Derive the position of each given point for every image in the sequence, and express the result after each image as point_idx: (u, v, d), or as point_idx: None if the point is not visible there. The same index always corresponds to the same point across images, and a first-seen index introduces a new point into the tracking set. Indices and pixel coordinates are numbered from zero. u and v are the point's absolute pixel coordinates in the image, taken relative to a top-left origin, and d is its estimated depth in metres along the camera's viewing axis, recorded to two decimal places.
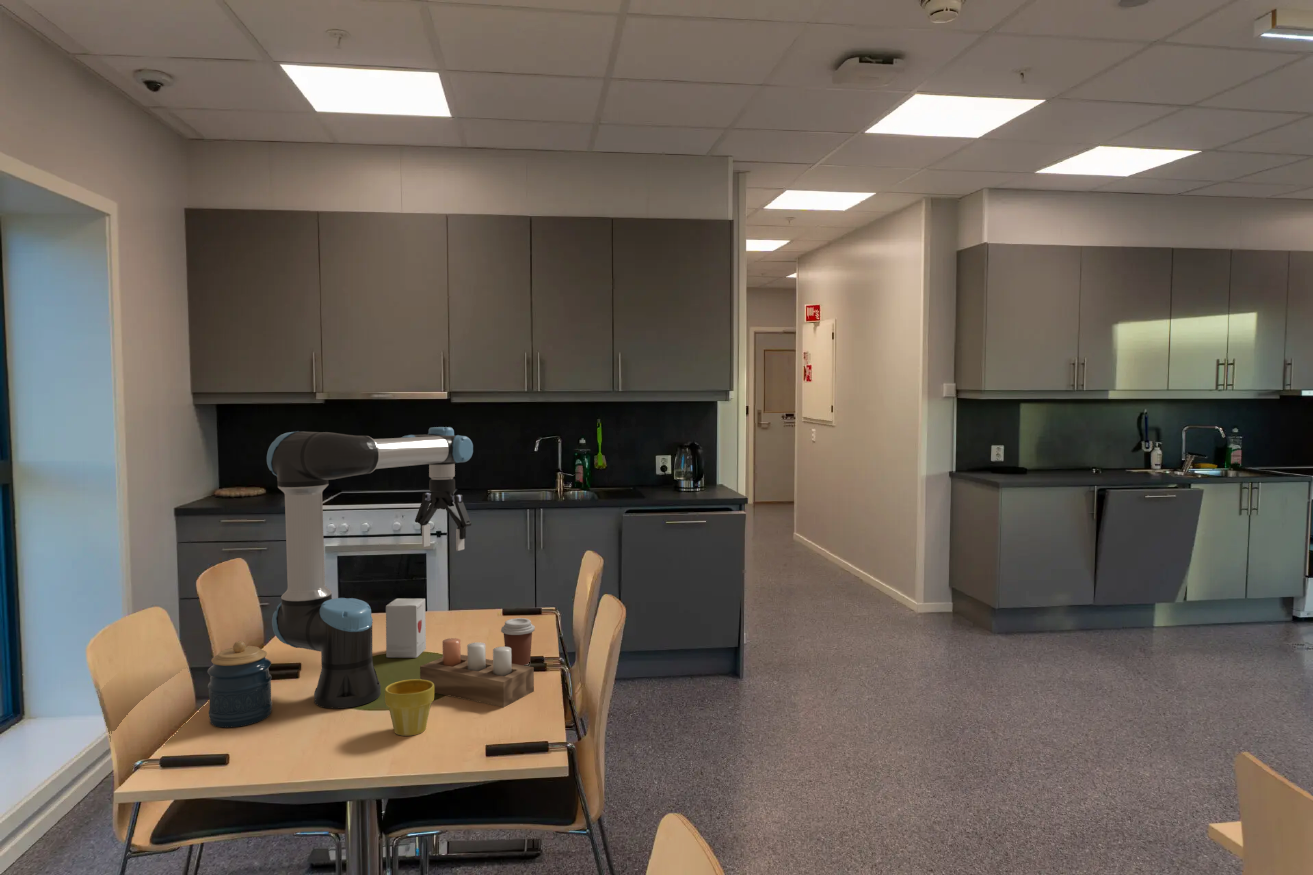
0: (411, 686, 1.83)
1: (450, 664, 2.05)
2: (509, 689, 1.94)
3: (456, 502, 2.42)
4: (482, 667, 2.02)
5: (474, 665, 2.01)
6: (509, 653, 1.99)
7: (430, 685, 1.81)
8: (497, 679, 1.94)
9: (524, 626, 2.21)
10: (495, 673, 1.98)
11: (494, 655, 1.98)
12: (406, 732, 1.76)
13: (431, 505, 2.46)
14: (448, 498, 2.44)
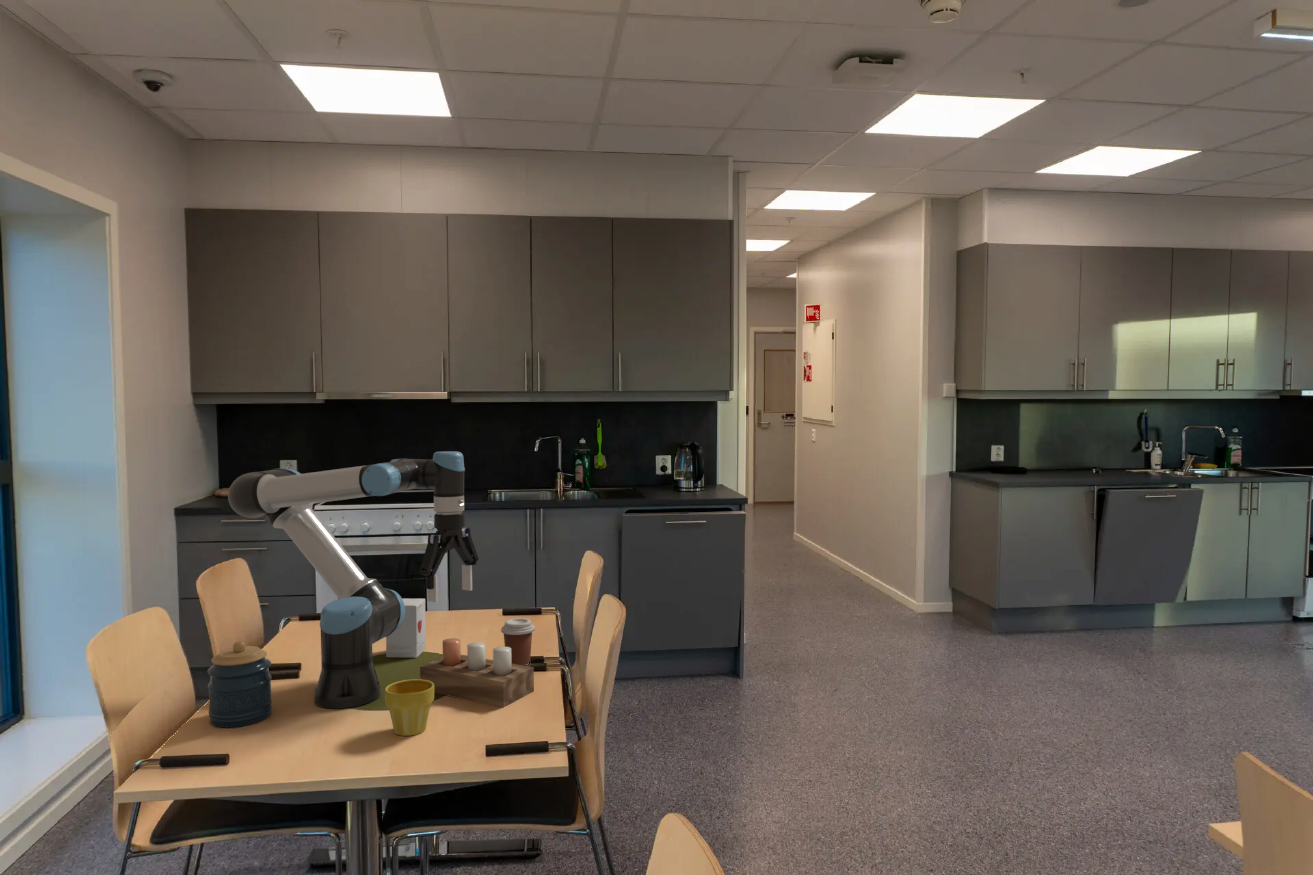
0: (411, 686, 1.83)
1: (450, 664, 2.05)
2: (509, 689, 1.94)
3: None
4: (482, 667, 2.02)
5: (474, 665, 2.01)
6: (509, 653, 1.99)
7: (430, 685, 1.81)
8: (497, 679, 1.94)
9: (524, 626, 2.21)
10: (495, 673, 1.98)
11: (494, 655, 1.98)
12: (406, 732, 1.76)
13: None
14: None
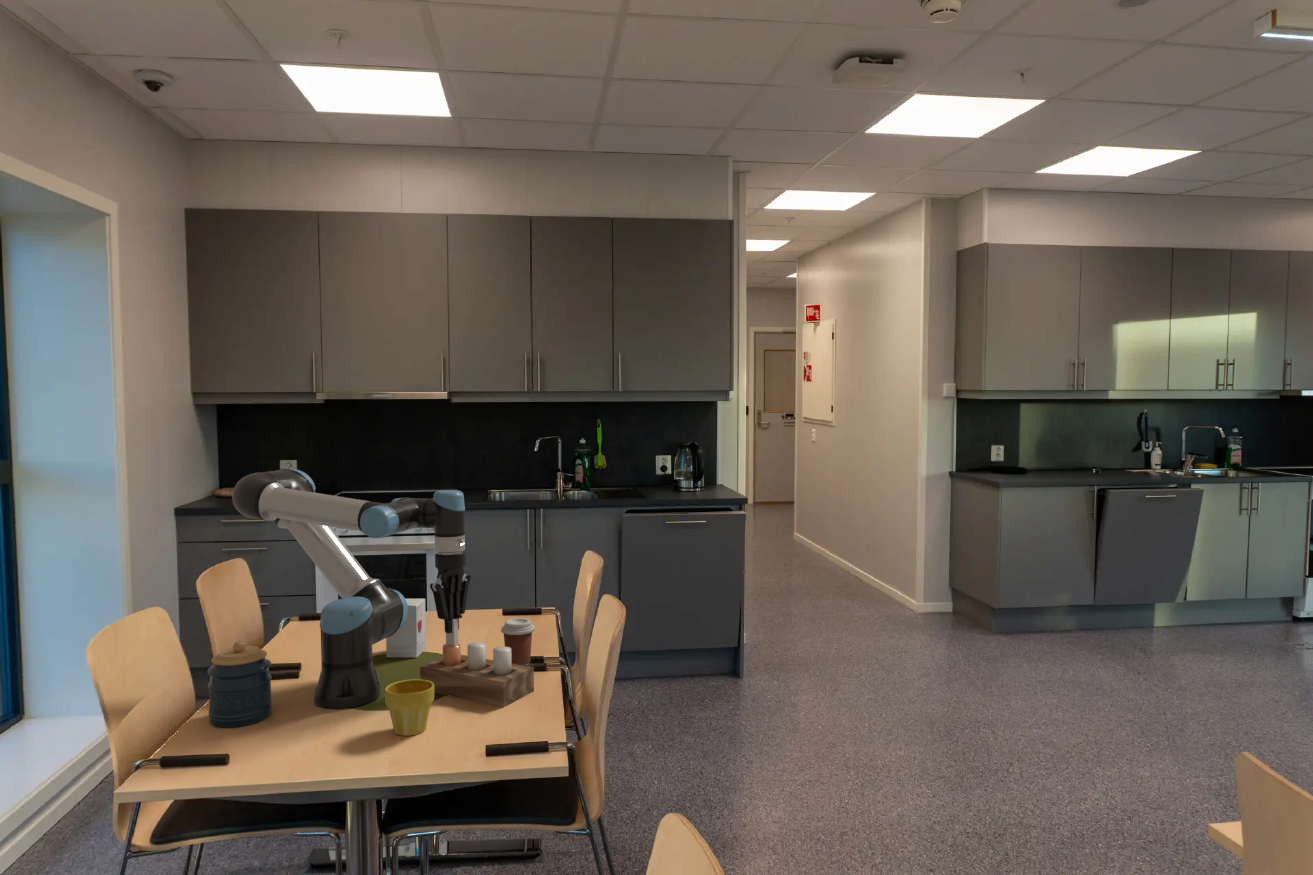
0: (411, 686, 1.83)
1: None
2: (509, 689, 1.94)
3: None
4: (482, 667, 2.02)
5: (474, 665, 2.01)
6: (509, 653, 1.99)
7: (430, 685, 1.81)
8: (497, 679, 1.94)
9: (524, 626, 2.21)
10: (495, 673, 1.98)
11: (494, 655, 1.98)
12: (406, 732, 1.76)
13: None
14: None
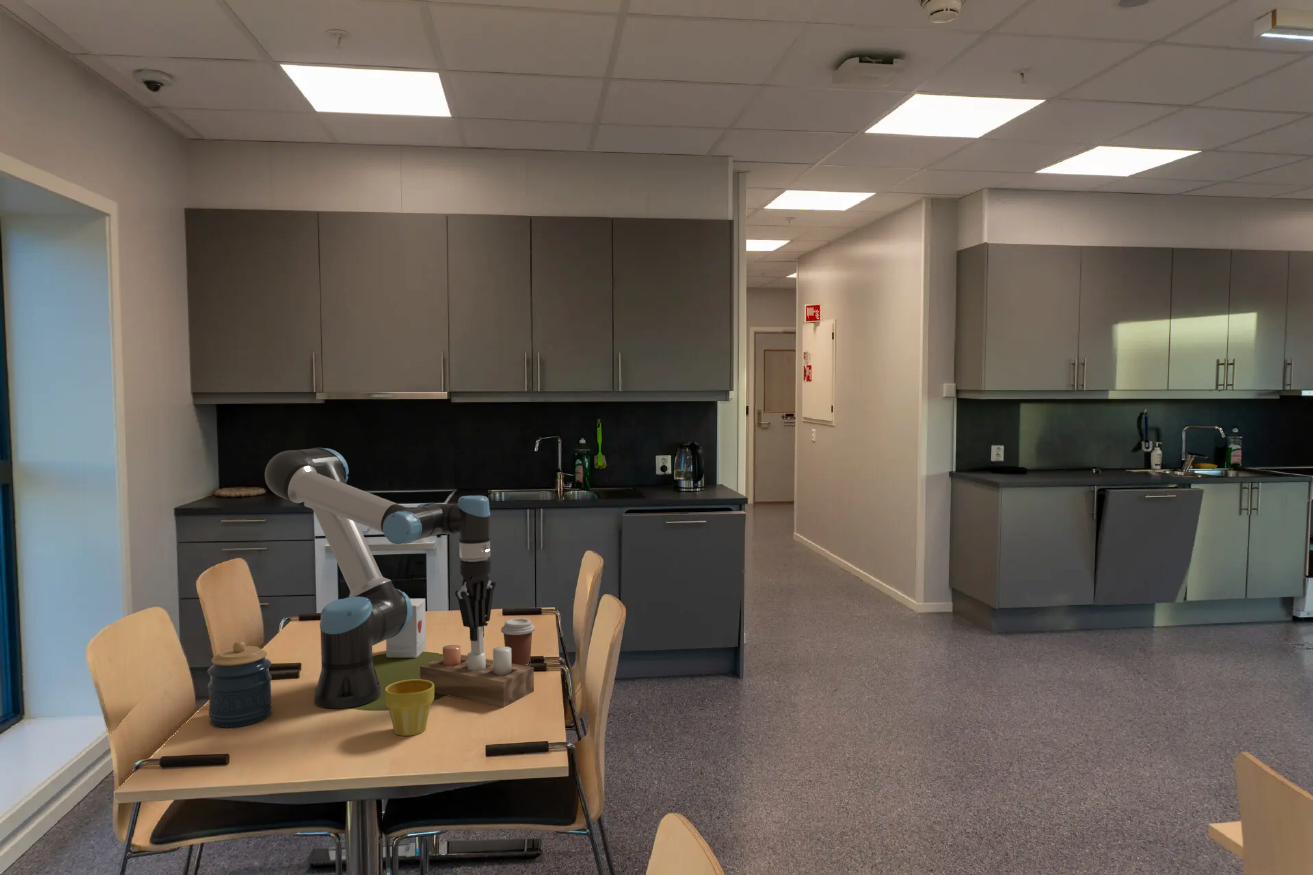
0: (411, 686, 1.83)
1: None
2: (509, 689, 1.94)
3: None
4: None
5: None
6: (509, 653, 1.99)
7: (430, 685, 1.81)
8: (497, 679, 1.94)
9: (524, 626, 2.20)
10: (495, 673, 1.98)
11: (494, 655, 1.98)
12: (406, 732, 1.76)
13: None
14: None
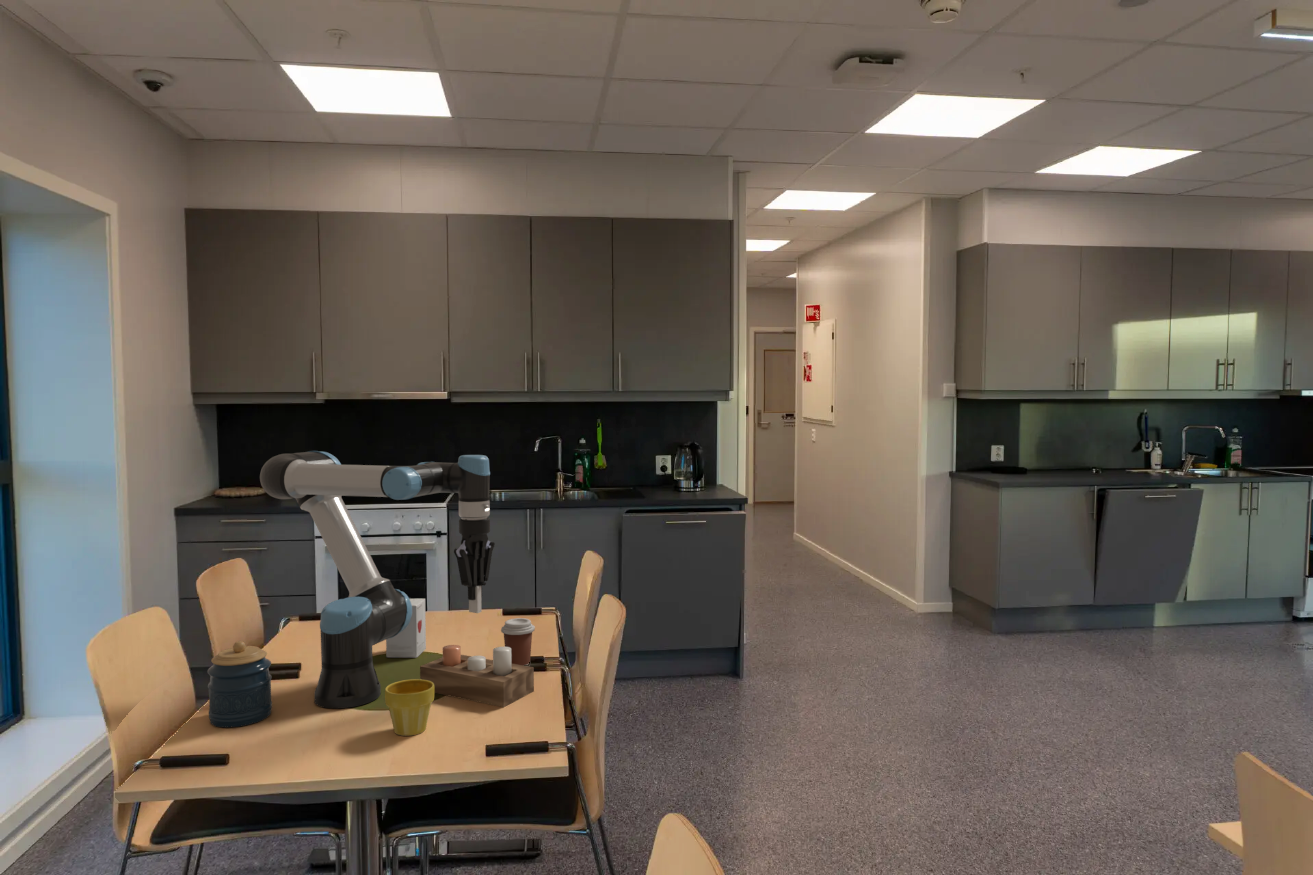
0: (411, 686, 1.83)
1: None
2: (509, 689, 1.94)
3: None
4: None
5: None
6: (509, 653, 1.99)
7: (430, 685, 1.81)
8: (497, 679, 1.94)
9: (524, 626, 2.21)
10: (495, 673, 1.98)
11: (494, 655, 1.98)
12: (406, 732, 1.76)
13: None
14: None
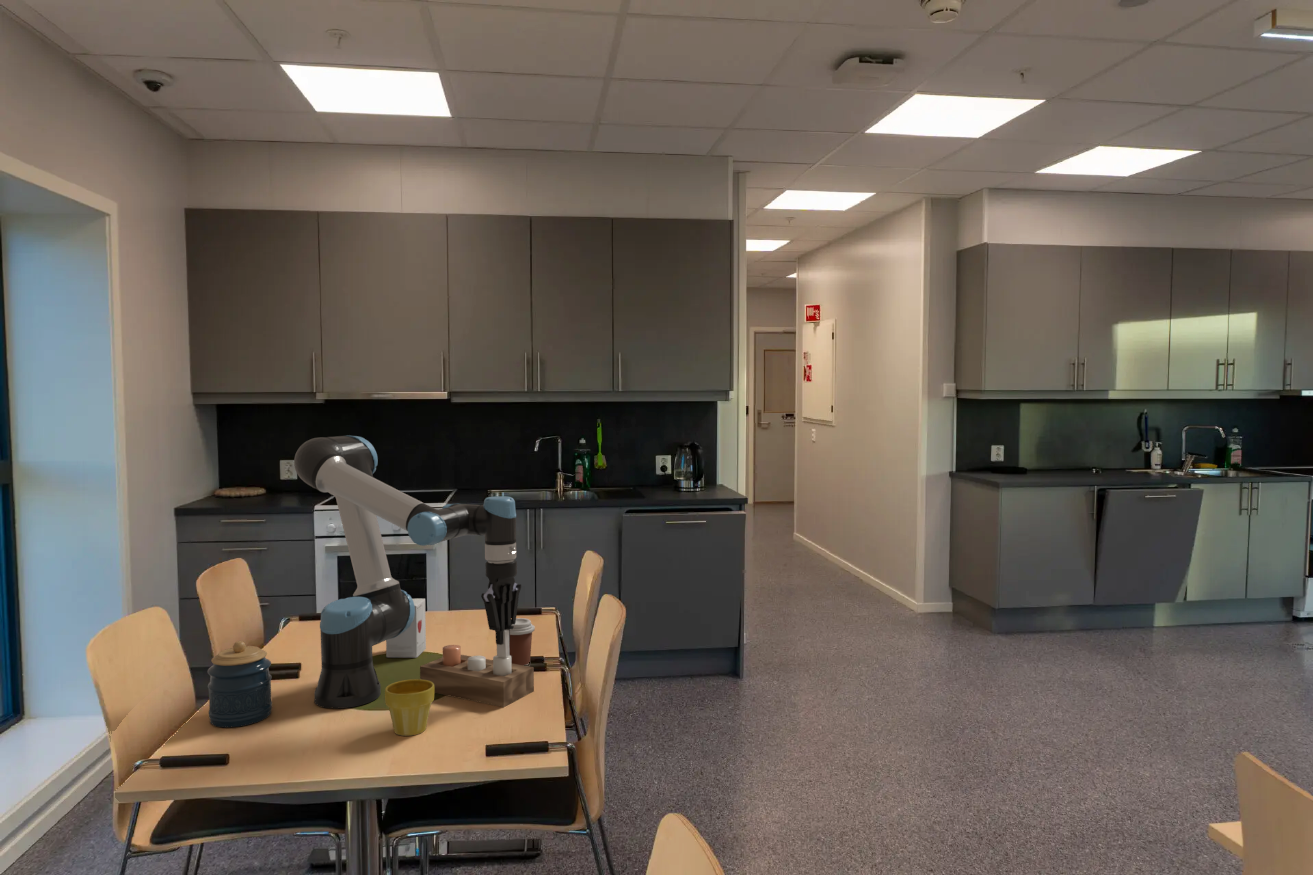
0: (411, 686, 1.83)
1: None
2: (509, 689, 1.94)
3: None
4: None
5: None
6: (509, 661, 1.99)
7: (430, 685, 1.81)
8: (497, 679, 1.94)
9: (524, 626, 2.20)
10: None
11: (494, 663, 1.98)
12: (406, 732, 1.76)
13: None
14: None
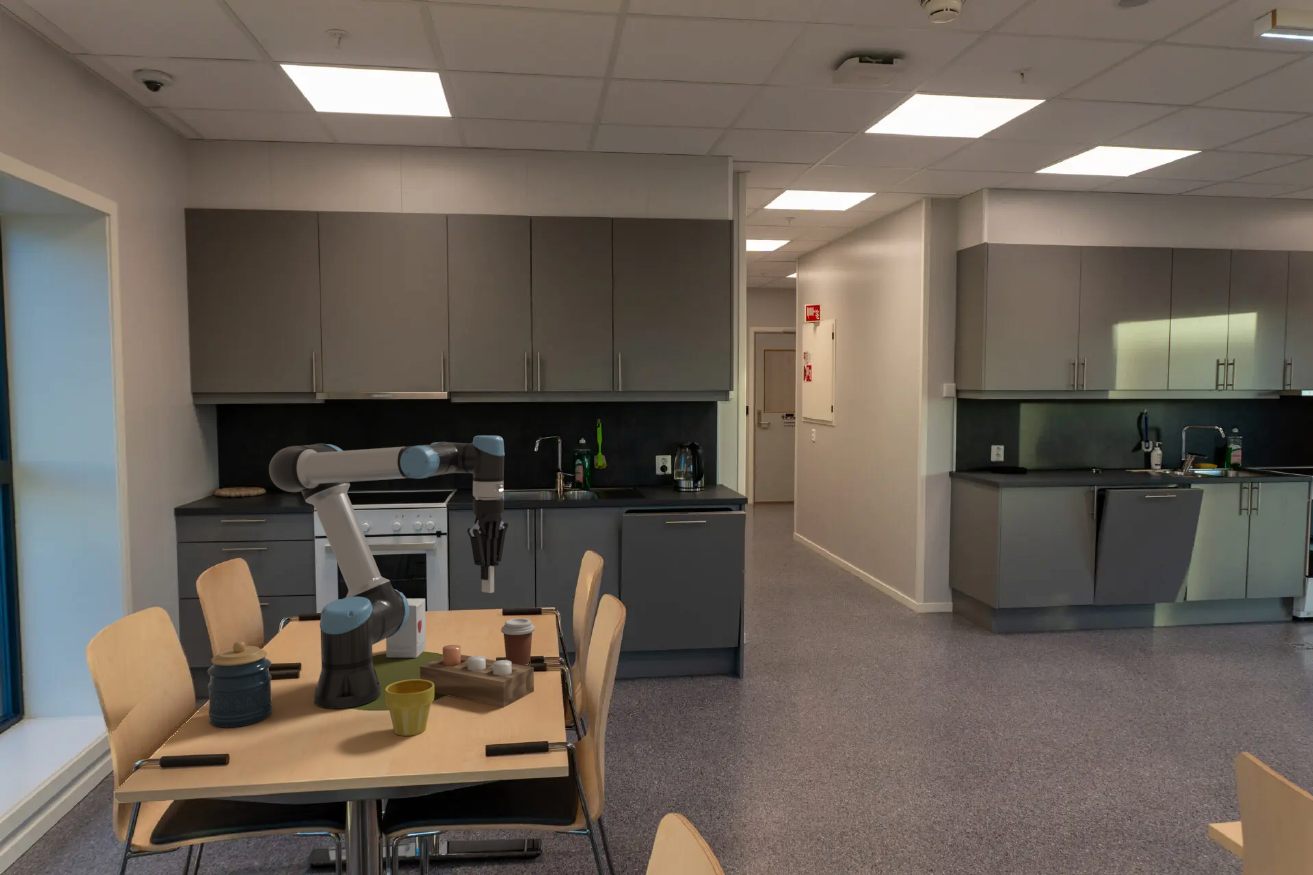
0: (411, 686, 1.83)
1: None
2: (509, 689, 1.94)
3: None
4: None
5: None
6: (509, 667, 1.99)
7: (430, 685, 1.81)
8: (497, 679, 1.94)
9: (524, 626, 2.20)
10: None
11: (494, 669, 1.98)
12: (406, 732, 1.76)
13: None
14: None
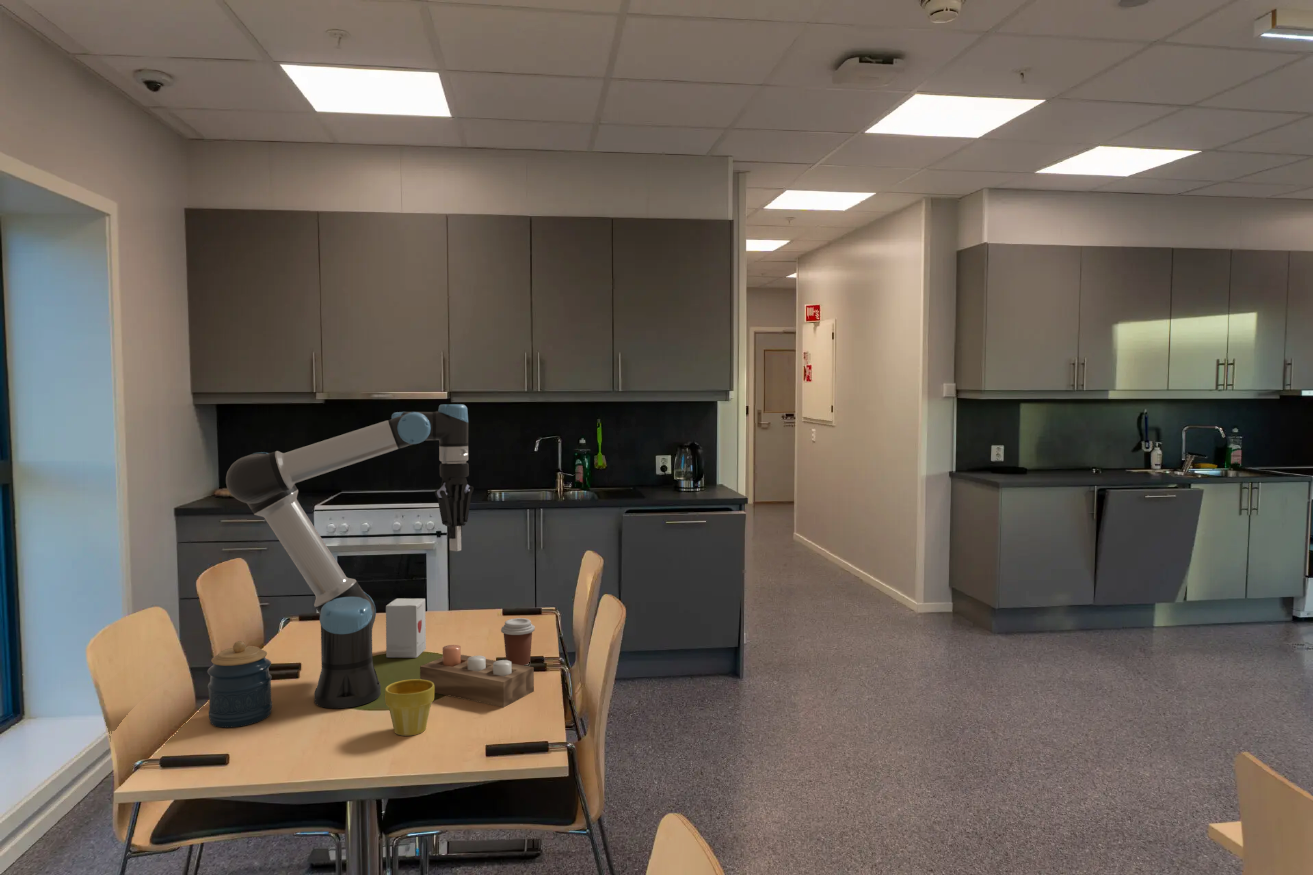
0: (411, 686, 1.83)
1: None
2: (509, 689, 1.94)
3: None
4: None
5: None
6: (509, 667, 1.99)
7: (430, 685, 1.81)
8: (497, 679, 1.94)
9: (524, 626, 2.21)
10: None
11: (494, 669, 1.98)
12: (406, 732, 1.76)
13: None
14: None
